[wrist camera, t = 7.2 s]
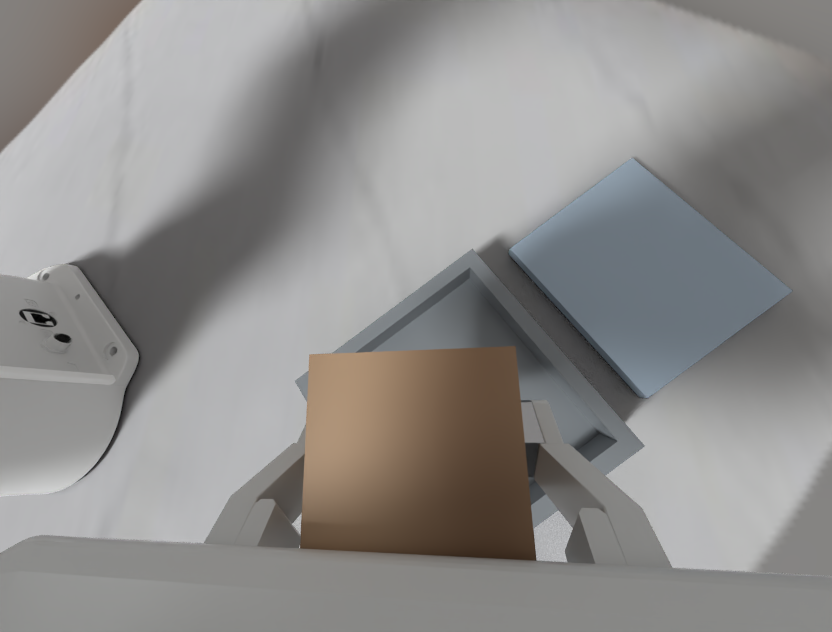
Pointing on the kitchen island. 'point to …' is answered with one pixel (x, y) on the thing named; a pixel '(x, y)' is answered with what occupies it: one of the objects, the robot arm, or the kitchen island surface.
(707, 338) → the light blue flat slab
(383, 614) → the robot arm
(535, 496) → the parts bin
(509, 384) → the walnut block
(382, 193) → the kitchen island surface
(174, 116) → the kitchen island surface
